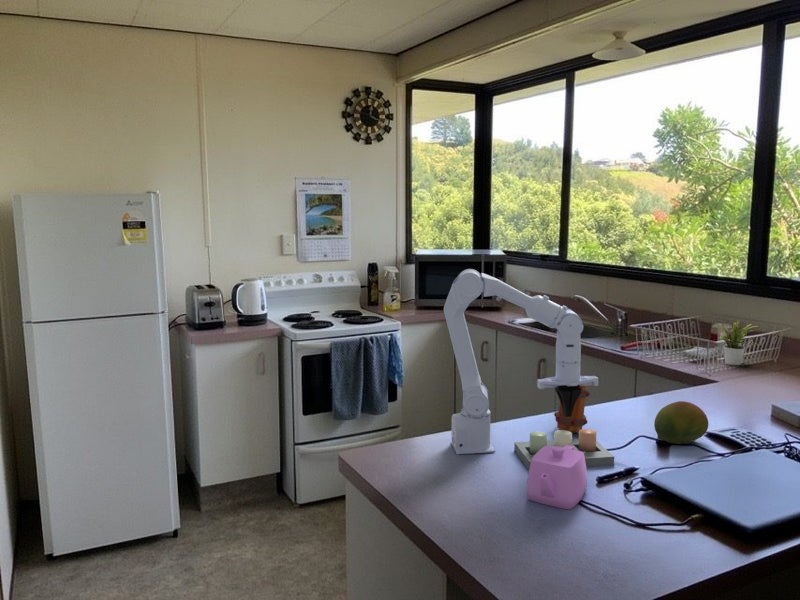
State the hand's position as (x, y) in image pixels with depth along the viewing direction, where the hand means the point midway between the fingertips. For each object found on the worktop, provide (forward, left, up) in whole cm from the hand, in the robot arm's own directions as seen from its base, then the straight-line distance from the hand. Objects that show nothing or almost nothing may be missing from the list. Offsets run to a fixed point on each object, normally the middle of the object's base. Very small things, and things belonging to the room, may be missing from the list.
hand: (567, 415), depth 155 cm
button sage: (-9, -4, -7) cm, 12 cm away
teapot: (-11, -23, -9) cm, 27 cm away
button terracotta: (+3, -4, -7) cm, 9 cm away
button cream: (-3, -4, -7) cm, 9 cm away
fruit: (+29, +1, -9) cm, 31 cm away
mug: (+6, +14, -9) cm, 17 cm away
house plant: (+90, +70, -9) cm, 115 cm away
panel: (-3, -4, -9) cm, 10 cm away
